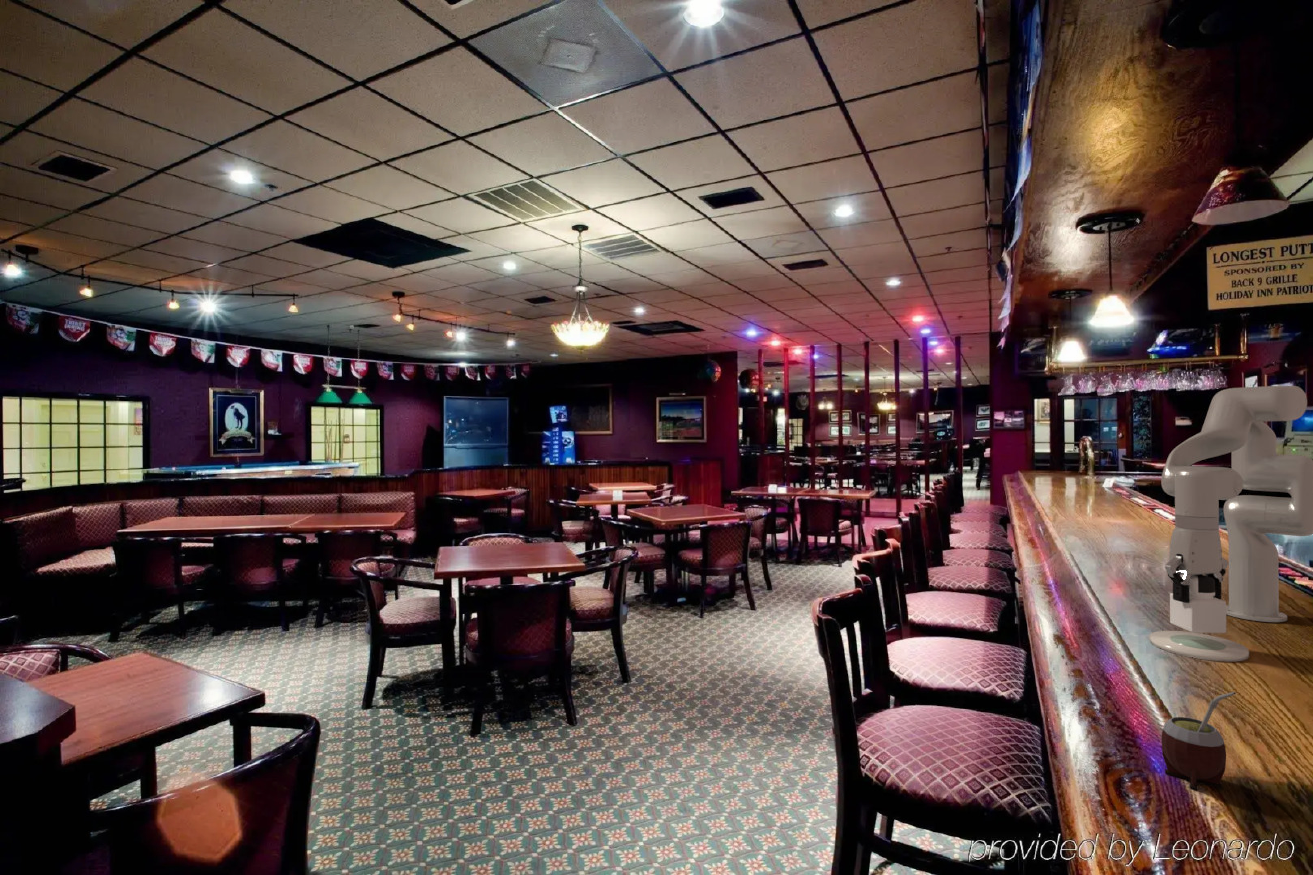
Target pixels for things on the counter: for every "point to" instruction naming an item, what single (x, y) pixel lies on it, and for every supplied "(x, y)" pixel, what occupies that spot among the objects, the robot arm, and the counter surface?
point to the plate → (1199, 646)
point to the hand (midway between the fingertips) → (1197, 599)
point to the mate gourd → (1195, 749)
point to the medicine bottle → (1199, 608)
